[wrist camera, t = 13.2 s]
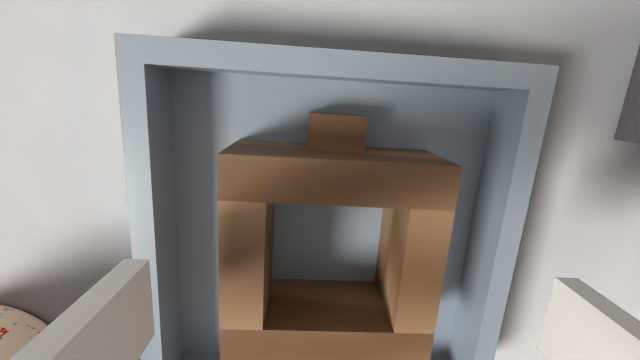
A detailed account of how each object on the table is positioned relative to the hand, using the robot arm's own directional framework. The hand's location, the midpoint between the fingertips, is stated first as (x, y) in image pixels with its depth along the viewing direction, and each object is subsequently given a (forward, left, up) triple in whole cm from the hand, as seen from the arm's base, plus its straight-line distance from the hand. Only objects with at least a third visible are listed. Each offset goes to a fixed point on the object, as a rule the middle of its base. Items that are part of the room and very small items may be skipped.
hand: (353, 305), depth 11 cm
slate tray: (0, 0, -7) cm, 7 cm away
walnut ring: (0, 0, -6) cm, 6 cm away
